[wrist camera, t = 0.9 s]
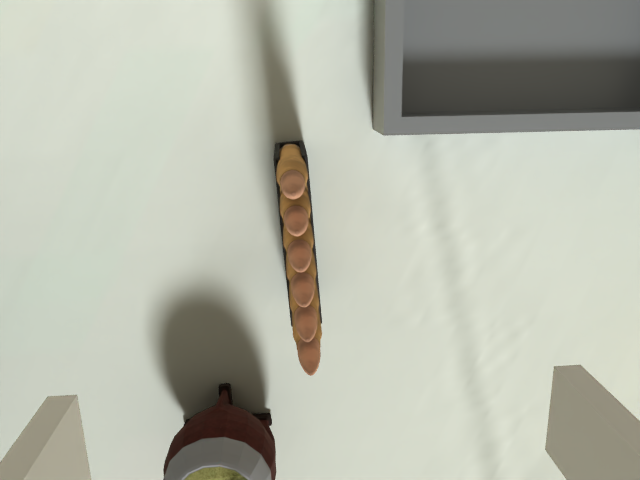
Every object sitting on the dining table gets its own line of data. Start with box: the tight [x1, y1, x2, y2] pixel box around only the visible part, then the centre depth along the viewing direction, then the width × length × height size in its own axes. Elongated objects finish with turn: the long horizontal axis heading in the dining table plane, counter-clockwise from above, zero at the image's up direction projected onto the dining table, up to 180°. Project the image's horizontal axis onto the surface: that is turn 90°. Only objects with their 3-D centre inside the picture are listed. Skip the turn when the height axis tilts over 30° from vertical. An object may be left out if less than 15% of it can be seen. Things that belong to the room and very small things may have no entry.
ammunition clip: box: [274, 141, 322, 376], centre depth 31 cm, size 11×2×12 cm, turn 5°
